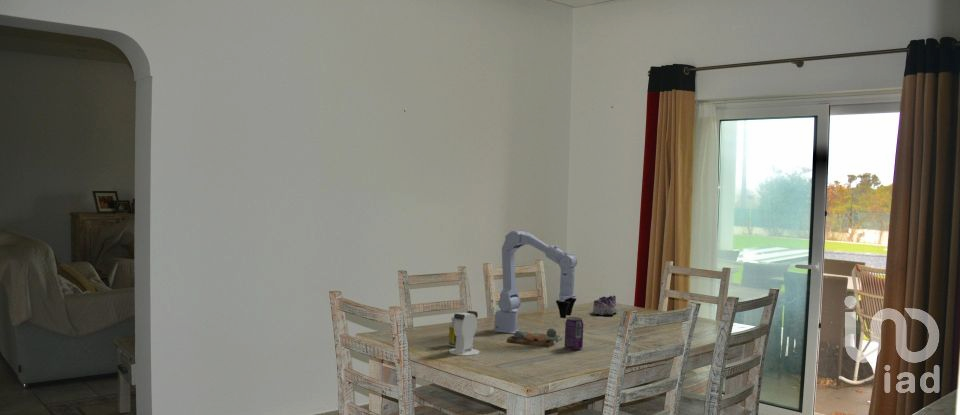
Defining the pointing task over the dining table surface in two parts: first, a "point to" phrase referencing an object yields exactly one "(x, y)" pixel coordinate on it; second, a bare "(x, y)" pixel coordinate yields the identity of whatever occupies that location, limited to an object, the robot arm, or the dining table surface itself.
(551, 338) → the sage trough
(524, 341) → the walnut trough
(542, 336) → the terracotta ball
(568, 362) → the dining table surface
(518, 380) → the dining table surface
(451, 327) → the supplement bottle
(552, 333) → the grey ball
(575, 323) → the beverage can
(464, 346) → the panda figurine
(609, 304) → the geode
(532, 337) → the terracotta ball
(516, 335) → the grey ball
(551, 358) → the dining table surface
